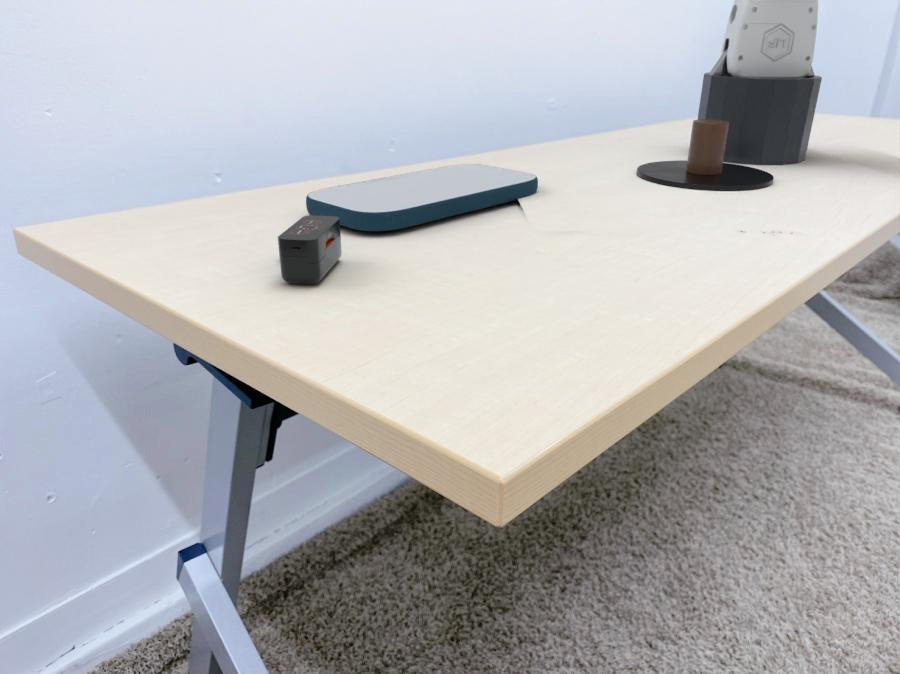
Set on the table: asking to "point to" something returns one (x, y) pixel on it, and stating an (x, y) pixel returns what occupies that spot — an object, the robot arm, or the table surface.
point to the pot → (762, 116)
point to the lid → (706, 164)
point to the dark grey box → (309, 249)
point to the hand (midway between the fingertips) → (750, 135)
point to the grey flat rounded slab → (420, 196)
